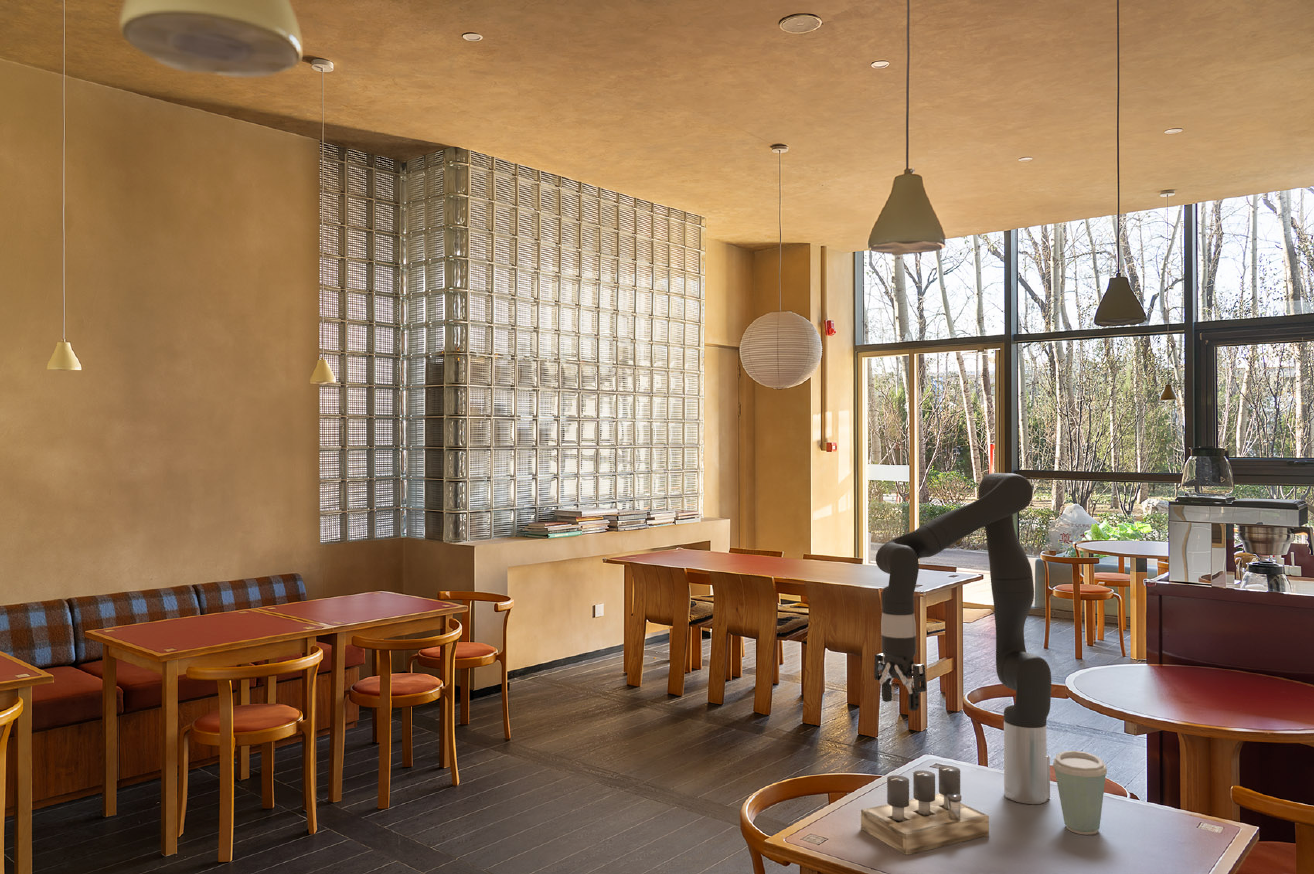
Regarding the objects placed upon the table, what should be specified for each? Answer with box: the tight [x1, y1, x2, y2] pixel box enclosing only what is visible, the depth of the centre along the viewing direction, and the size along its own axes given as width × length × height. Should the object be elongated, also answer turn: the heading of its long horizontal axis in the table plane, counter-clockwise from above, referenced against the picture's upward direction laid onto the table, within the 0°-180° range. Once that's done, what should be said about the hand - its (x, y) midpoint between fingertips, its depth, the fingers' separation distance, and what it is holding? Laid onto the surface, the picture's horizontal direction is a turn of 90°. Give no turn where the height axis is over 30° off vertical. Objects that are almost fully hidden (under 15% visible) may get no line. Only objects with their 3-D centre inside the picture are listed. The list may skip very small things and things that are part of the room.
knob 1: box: [886, 774, 910, 821], centre depth 186 cm, size 4×4×8 cm
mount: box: [860, 793, 990, 856], centre depth 189 cm, size 22×14×4 cm, turn 116°
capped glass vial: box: [947, 793, 962, 821], centre depth 186 cm, size 3×3×5 cm
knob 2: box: [938, 765, 961, 809], centre depth 192 cm, size 4×4×8 cm
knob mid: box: [912, 770, 936, 815], centre depth 189 cm, size 4×4×8 cm
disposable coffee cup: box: [1052, 750, 1108, 836], centre depth 191 cm, size 11×11×15 cm
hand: (900, 705), depth 202 cm, fingers open, 8 cm apart
